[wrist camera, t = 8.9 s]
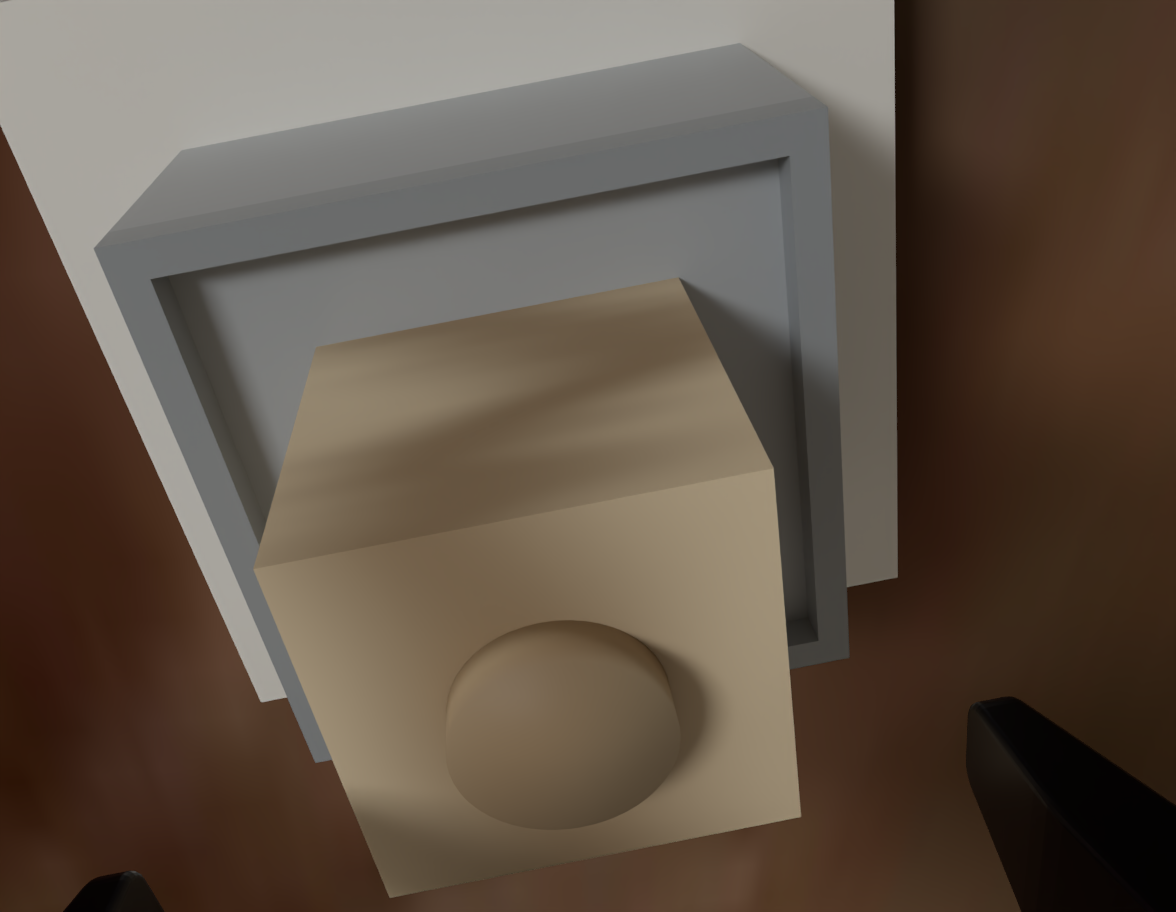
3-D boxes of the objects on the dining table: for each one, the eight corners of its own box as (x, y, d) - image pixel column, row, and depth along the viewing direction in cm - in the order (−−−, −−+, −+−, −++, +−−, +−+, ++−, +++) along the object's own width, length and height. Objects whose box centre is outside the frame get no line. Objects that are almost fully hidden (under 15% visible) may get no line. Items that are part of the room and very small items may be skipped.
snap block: (678, 276, 14) (790, 502, 9) (713, 566, 17) (815, 859, 12) (316, 347, 14) (241, 609, 9) (407, 626, 17) (386, 943, 12)
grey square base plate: (859, -168, 16) (1044, -171, 11) (874, 537, 24) (990, 733, 19) (-11, -2, 16) (-231, 73, 11) (271, 655, 24) (218, 887, 18)
